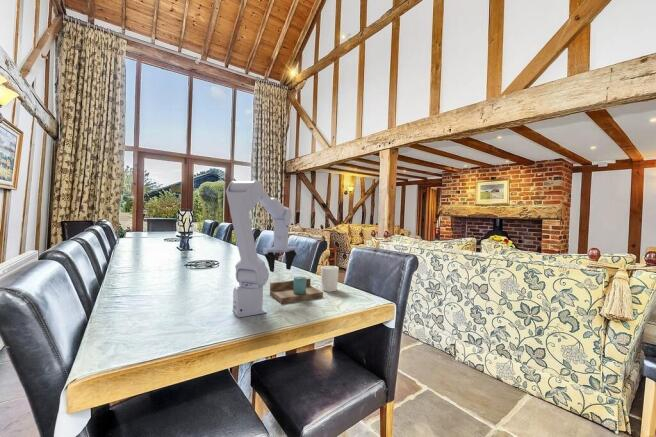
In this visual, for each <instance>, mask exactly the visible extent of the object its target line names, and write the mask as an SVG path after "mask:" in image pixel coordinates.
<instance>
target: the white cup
mask: <svg viewBox="0 0 656 437" xmlns="http://www.w3.org/2000/svg"><path fill="white" fill-rule="evenodd" d="M339 268H340V267H339V266H336V265H322V266H321V267H320V282H321V291H322V292H326V291H327V292H328V293H331V291H334V292H336V291H337V290H338V283H339V271H340V270H339ZM327 292H326V293H327Z"/></svg>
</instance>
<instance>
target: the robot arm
mask: <svg viewBox="0 0 656 437" xmlns="http://www.w3.org/2000/svg"><path fill="white" fill-rule="evenodd" d="M225 193H226V198H227V203H228V207H229V213H230V214H229V215H230V218H231V223H232V227H233V230H234V236H235V240H236V244H237V248H238V249H237V250H238V253H239V257H240V260H239V261H237V263H236V265H235V266H234V267H235V280H236V282H237V283H238V285H239V286H236V287H234V288H233V292H232V294H233V295H232V312H233V313H234V314H235V316H236V317H237V318H242V317H243V318H244V317H248V316H255V315H260V314H266V313H267V310H266V309H265V308H263V302H264V301H263V299H264V298H263V297H264V293H263V292H264V286H265V285H266V284H267V282H268V280H269V276H270V274H269V273H270V272H271V273H275V262H276V257H277V255H276V253H277V254H278V253H284V254H285V267H286V270H291V268H292V266H293V262H294V259H295V257H296V256H297V252H298V246H295V245H294V246H289V226H290V224H291V219H292V215H293V214H292V211H291V209H290V208H289V207H288V206H284V205H283V204H282V203H281V202H280V201H279V200H278V199H277V197H271V196H269V195H268V194H267V193H266V191H265V190H264V184H262V183H261V182H260V181H259V180H253V181H252V180H251V181H250V180H245V181H243V180H242V181H241V180H239V181H237V180H232V181H230V182H229V184H228V186H227V188H226V190H225ZM258 203H260V204H261V205H263V209H264V211H266V212H267V213H268V214H270V216H271V219H272V221H274V222H273V246H272V247H264V248H263V250H262V252H263V254H264V257H265V259H266V261H267V264H268V267H267V266H266V262H265V261H264V260H263V259H262V258H260V257H259V256H258V252H257V247H256V246H257V245H256V243H255V237H254V233H253V228H252V222H251V218H250V211H251V210H254V208H255V207H256V206H257V204H258ZM268 268H269V269H268Z"/></svg>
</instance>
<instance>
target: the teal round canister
mask: <svg viewBox="0 0 656 437" xmlns="http://www.w3.org/2000/svg"><path fill="white" fill-rule="evenodd" d="M306 279H307V277H306V276H295V277H293V280H294V289H293V294H295V295H304V294H306Z"/></svg>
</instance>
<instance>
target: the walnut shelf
mask: <svg viewBox="0 0 656 437" xmlns="http://www.w3.org/2000/svg"><path fill="white" fill-rule="evenodd" d="M311 282H312V280H311V278H309V277H308V278H306V294H304V295H295V294H293V289H294V279H292V280H283V281H275V282H270V283H269V295H270V297H272V298H273V299H274V300H276V301H277V302H279V303H280V304H287V303H293V302H300V301H306V300H313V299H318V298H323V297H324V291H323V290H320V289H318V288H316V287H314V286H312V285H311Z"/></svg>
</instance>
